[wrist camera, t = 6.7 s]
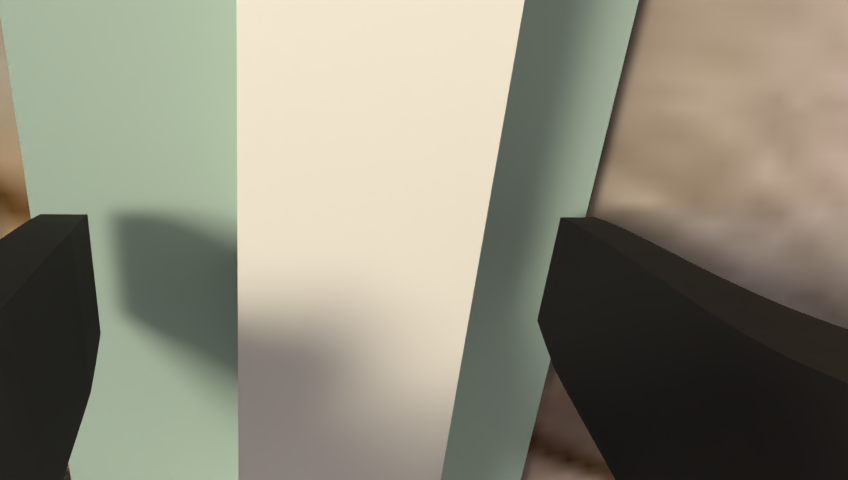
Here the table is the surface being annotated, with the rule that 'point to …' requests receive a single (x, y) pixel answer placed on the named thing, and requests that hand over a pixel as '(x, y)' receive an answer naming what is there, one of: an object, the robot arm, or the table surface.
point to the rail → (361, 225)
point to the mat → (217, 218)
